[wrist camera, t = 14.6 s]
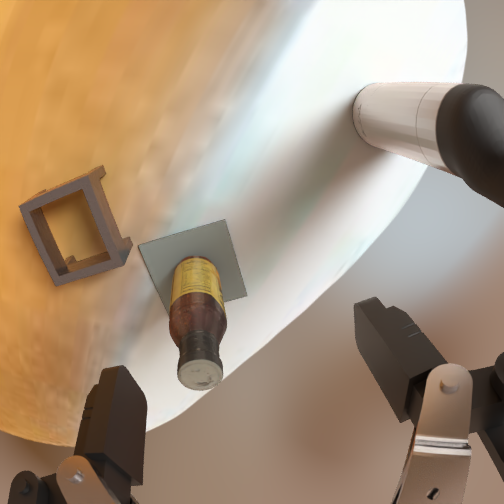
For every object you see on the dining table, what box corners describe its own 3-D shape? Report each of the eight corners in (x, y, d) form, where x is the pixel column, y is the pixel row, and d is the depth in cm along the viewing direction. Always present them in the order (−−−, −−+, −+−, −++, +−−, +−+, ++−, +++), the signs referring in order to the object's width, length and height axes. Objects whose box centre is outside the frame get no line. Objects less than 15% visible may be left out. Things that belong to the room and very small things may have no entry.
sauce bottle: (207, 297, 46) (217, 408, 29) (167, 283, 44) (154, 393, 27) (227, 260, 44) (247, 365, 27) (184, 243, 42) (177, 345, 25)
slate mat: (224, 219, 42) (225, 220, 42) (246, 294, 48) (247, 295, 47) (139, 245, 42) (138, 246, 41) (169, 315, 47) (169, 316, 47)
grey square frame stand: (103, 164, 37) (87, 175, 31) (132, 244, 42) (124, 265, 36) (39, 192, 36) (18, 206, 31) (70, 264, 41) (56, 286, 36)
